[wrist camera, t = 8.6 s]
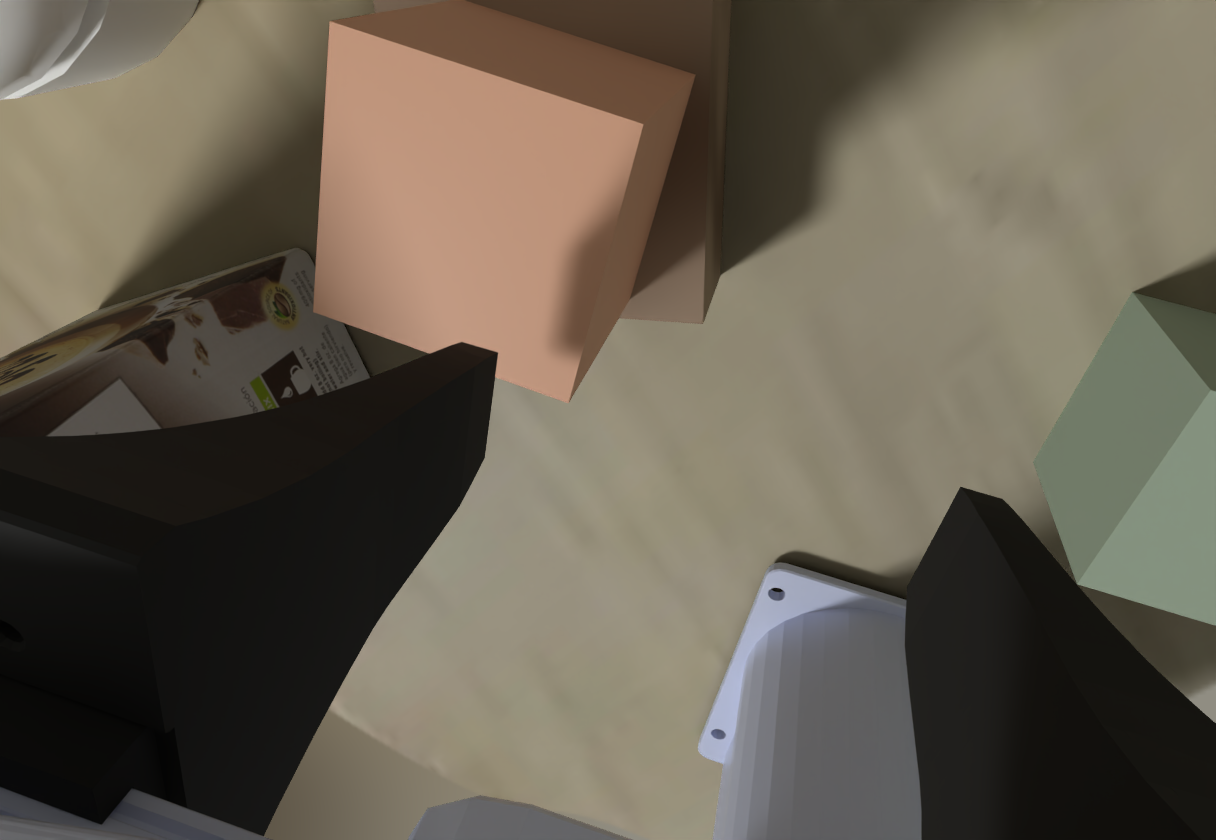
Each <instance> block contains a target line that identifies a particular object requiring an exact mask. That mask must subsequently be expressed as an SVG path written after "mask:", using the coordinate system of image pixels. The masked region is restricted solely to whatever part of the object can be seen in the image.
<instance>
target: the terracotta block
mask: <svg viewBox="0 0 1216 840" xmlns="http://www.w3.org/2000/svg"><path fill="white" fill-rule="evenodd" d="M695 76H696V75H695V74H692V73H689V72H686V71H683V70H679V69H676V68H673V67H670V66H667V65H664V64H661V63H658V62H655V61H652V60H648V59H645V58H642V57H639V56H636V55H633V54H630V53H627V52H624V51H621V50H617V49H614V48H611V47H608V46H605V45H602V44H599V43H596V42H593V41H590V40H586V39H583V38H580V37H577V36H574V35H571V34H568V33H565V32H562V31H559V30H555V29H552V28H549V27H546V26H543V25H540V24H537V23H534V22H531V21H527V20H524V19H521V18H518V17H515V16H512V15H509V14H506V13H503V12H500V11H496V10H493V9H490V8H487V7H484V6H481V5H478V4H475V3H472V2H468V1H465V0H450V1H444V2H438V3H432V4H426V5H421V6H415V7H409V8H403V9H397V10H392V11H386V12H380V13H374V14H368V15H363V16H357V17H351V18H345V19H339V20H334V21H330V25H329V42H328V60H327V77H326V95H325V112H324V129H323V147H322V164H321V182H320V199H319V216H318V234H317V251H316V268H315V286H314V303H313V312H314V313H317V314H320V315H323V316H326V317H328V318H331V319H334V320H337V321H340V322H342V323H345V324H348V325H351V326H354V327H356V328H359V329H362V330H365V331H368V332H370V333H373V334H376V335H379V336H382V337H384V338H387V339H390V340H393V341H396V342H398V343H401V344H404V345H407V346H410V347H412V348H415V349H418V350H421V351H424V352H426V353H429V354H430V353H433V352H435V351H438V350H440V349H443V348H445V347H448V346H451V345H453V344H457V343H460V342H464V343H468V344H471V345H475V346H478V347H481V348H485V349H488V350H492V351H495V352H498V358H497V366H496V374H495V377H496V378H499V379H502V380H505V381H508V382H510V383H513V384H516V385H519V386H522V387H524V388H527V389H530V390H533V391H536V392H538V393H541V394H544V395H547V396H550V397H552V398H555V399H558V400H561V401H564V402H566V403H569V402H570V400H571V398H572V396H573V395H574V393H575V391H576V390H577V388H578V386H579V385H580V383H581V381H582V380H583V378H584V376H585V374H586V373H587V371H588V369H589V368H590V366H591V364H592V363H593V361H594V359H595V357H596V356H597V354H598V352H599V351H600V349H601V347H602V346H603V344H604V342H605V341H606V339H607V337H608V335H609V334H610V332H611V330H612V329H613V327H614V325H615V324H616V322H617V320H618V319H619V317H620V315H621V313H622V312H623V310H624V308H625V307H626V305H627V303H628V302H629V300H630V297H631V294H632V290H633V287H634V283H635V280H636V277H637V273H638V270H639V266H640V263H641V260H642V256H643V253H644V249H645V246H646V242H647V239H648V236H649V232H650V229H651V225H652V222H653V219H654V215H655V212H656V208H657V205H658V202H659V198H660V195H661V191H662V188H663V185H664V181H665V178H666V174H667V171H668V168H669V164H670V161H671V157H672V154H673V151H674V147H675V144H676V140H677V137H678V134H679V130H680V127H681V123H682V120H683V116H684V113H685V110H686V106H687V103H688V99H689V96H690V93H691V89H692V86H693V82H694V79H695Z"/></svg>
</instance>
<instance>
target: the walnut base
mask: <svg viewBox="0 0 1216 840" xmlns="http://www.w3.org/2000/svg"><path fill="white" fill-rule="evenodd" d="M444 1H450V0H373V2H374V9H375V13H380V12H386V11H392V10H397V9H403V8H409V7H415V6H421V5H426V4H432V3H438V2H444ZM465 1H468V2H472V3H475V4H478V5H481V6H484V7H487V8H490V9H493V10H496V11H500V12H503V13H506V14H509V15H512V16H515V17H518V18H521V19H524V20H527V21H531V22H534V23H537V24H540V25H543V26H546V27H549V28H552V29H555V30H559V31H562V32H565V33H568V34H571V35H574V36H577V37H580V38H583V39H586V40H590V41H593V42H596V43H599V44H602V45H605V46H608V47H611V48H614V49H617V50H621V51H624V52H627V53H630V54H633V55H636V56H639V57H642V58H645V59H648V60H652V61H655V62H658V63H661V64H664V65H667V66H670V67H673V68H676V69H679V70H683V71H686V72H689V73H692V74H695V75H696V76H695V79H694V82H693V86H692V89H691V93H690V96H689V99H688V103H687V106H686V110H685V113H684V116H683V120H682V123H681V127H680V130H679V134H678V137H677V140H676V144H675V147H674V151H673V154H672V157H671V161H670V164H669V168H668V171H667V174H666V178H665V181H664V185H663V188H662V191H661V195H660V198H659V202H658V205H657V208H656V212H655V215H654V219H653V222H652V225H651V229H650V232H649V236H648V239H647V242H646V246H645V249H644V253H643V256H642V260H641V263H640V266H639V270H638V273H637V277H636V280H635V283H634V287H633V290H632V294H631V297H630V300H629V302H628V303H627V305H626V307H625V308H624V310H623V312H622V313H621V315H620V317H619V318H625V319H639V320H654V321H668V322H682V323H697V324H703V322H704V320H705V317H706V314H707V311H708V308H709V306H710V303H711V300H712V297H713V295H714V292H715V289H716V286H717V283H718V281H719V278H720V275H721V250H722V225H723V200H724V175H725V150H726V125H727V101H728V76H729V51H730V26H731V1H732V0H465Z"/></svg>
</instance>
